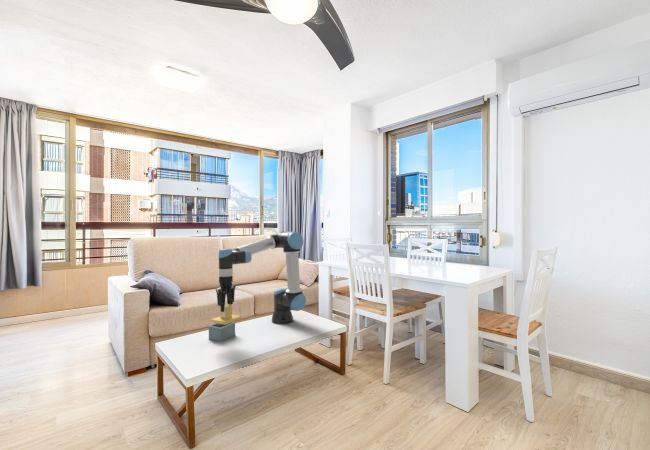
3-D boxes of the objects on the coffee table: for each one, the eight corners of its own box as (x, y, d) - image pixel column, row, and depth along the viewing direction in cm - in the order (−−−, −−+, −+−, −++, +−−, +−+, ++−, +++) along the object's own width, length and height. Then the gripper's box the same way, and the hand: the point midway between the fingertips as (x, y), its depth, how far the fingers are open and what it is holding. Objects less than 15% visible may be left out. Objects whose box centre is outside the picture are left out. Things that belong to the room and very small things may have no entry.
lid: (227, 317, 186) (227, 302, 186) (240, 319, 181) (240, 304, 181) (211, 323, 175) (210, 307, 174) (224, 326, 170) (224, 309, 169)
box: (223, 332, 199) (223, 320, 199) (235, 335, 195) (235, 322, 195) (208, 339, 189) (208, 326, 189) (220, 341, 184) (220, 328, 184)
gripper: (231, 273, 186) (231, 311, 186) (210, 277, 172) (210, 319, 172) (240, 274, 183) (241, 313, 183) (219, 278, 169) (220, 321, 169)
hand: (226, 316), depth 178 cm, fingers closed on lid, 3 cm apart
